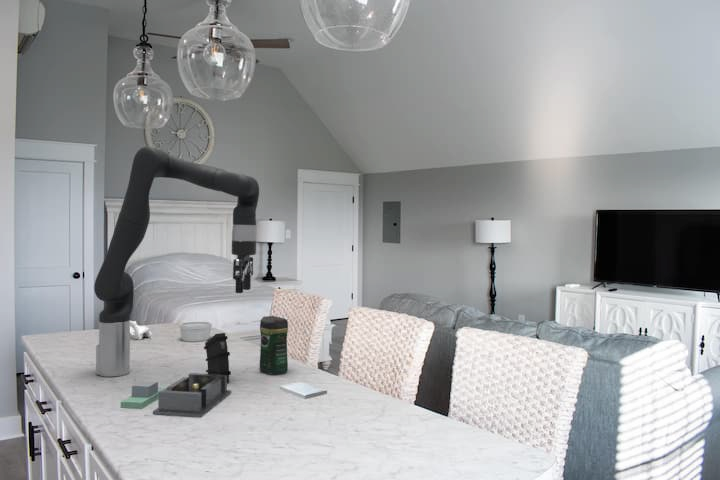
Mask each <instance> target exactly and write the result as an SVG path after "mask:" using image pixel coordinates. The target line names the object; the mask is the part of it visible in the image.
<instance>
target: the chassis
mask: <svg viewBox="0 0 720 480" xmlns="http://www.w3.org/2000/svg"><path fill="white" fill-rule="evenodd" d="M166 388H167V391H165V390H161V391H159V399H157V401H158V407H157V408H155V409H154V410H153V411H152V415H157V416H158V415H163V416H173V417H175V416H176V417H177V416H179V417H192V418H202V417H203V416H205V414H207V413H208V412H209V411H210V410H212V409H214V408H215V407H216V406H217V405H218V404H219V403H221V402H222V401H223V400H225V399H226V398H227V397H228V396H230V395H231V394H232V390H231V389H228V383H227V375H218V374H208V373H200V372H199V373H197V372H196V373H195V372H190V373H189V374H188V377H187V376H183V377H182V378H180V379H178V380H177V381H175V382H173V383H171V384H170V385H168V386H166Z"/></svg>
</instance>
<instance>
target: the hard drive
mask: <svg viewBox="0 0 720 480" xmlns="http://www.w3.org/2000/svg"><path fill="white" fill-rule="evenodd" d="M279 390H280V391H282V392H285V393H288V394H291V395H294V396H296V397H298V398H301V399H303V400H306V399H311V398H314V397H319V396H323V395H325V394H328V390H326V389H324V388H320V387H317V386H314V385H312V384H309V383H306V382H303V381H297V382H293V383H288V384H283V385H280V386H279Z"/></svg>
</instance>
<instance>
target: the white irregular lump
mask: <svg viewBox="0 0 720 480" xmlns="http://www.w3.org/2000/svg"><path fill="white" fill-rule="evenodd" d="M152 335H153V332H151V331H150V328H149V327H147V326H145V325H139V324H138V323H137V321H136V320H133V321H132V320H130V339H135V340H139V341H141V340H142V339H143V337H144V338H147V337H148V339H149V338H151V337H152Z"/></svg>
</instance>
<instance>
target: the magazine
mask: <svg viewBox="0 0 720 480" xmlns="http://www.w3.org/2000/svg"><path fill="white" fill-rule="evenodd" d="M228 338H229V337H228V335H226V333H225V332H220V333H215V334H214V335H213V336H211V337H209V339H208V340H206V342H205V341H204V347H203V350H205V352H206V358H205V362H207V369H206V370H205V372H206V373H207V374H218V375H227V384H229V383H230V376H231V375H232V371H231V370H230V361H229V356H231V353H230V351H228V349H229V348H228V342H227V340H228Z"/></svg>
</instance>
